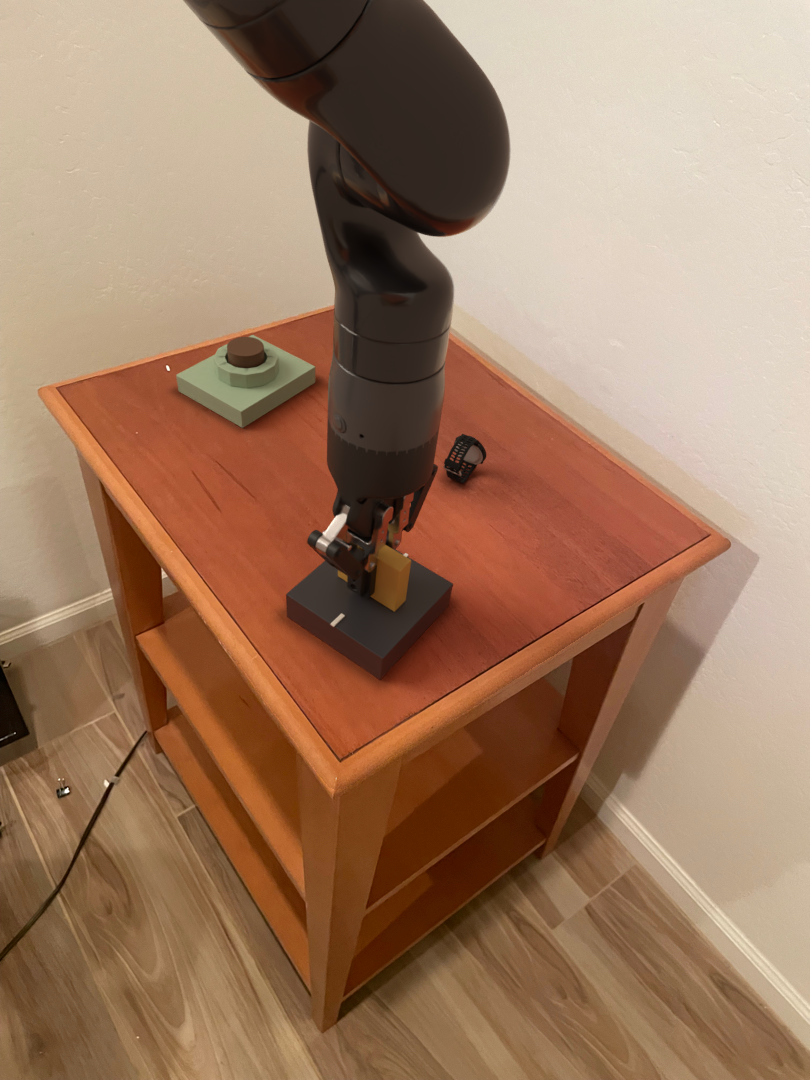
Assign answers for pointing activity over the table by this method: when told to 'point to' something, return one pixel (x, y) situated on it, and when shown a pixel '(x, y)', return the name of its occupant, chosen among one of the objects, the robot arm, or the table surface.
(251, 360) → the bell button
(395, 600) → the lock knob
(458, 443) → the smartwatch
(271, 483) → the table surface
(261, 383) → the doorbell
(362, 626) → the plate
